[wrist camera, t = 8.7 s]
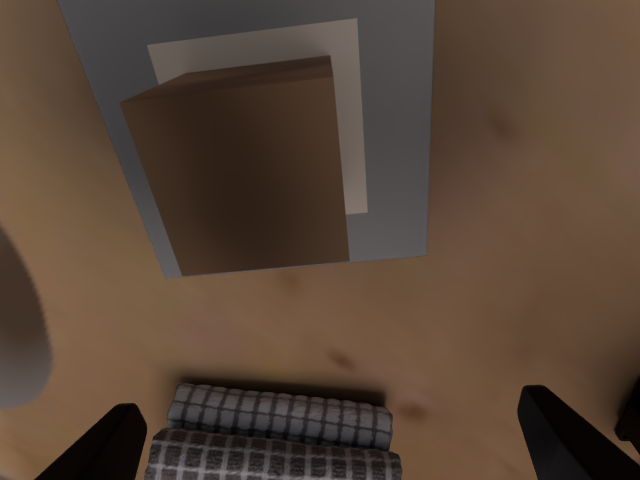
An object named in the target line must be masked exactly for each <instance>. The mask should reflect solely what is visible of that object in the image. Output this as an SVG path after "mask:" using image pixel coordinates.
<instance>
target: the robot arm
mask: <svg viewBox="0 0 640 480" xmlns="http://www.w3.org/2000/svg"><path fill="white" fill-rule="evenodd" d="M517 413H518V419H519V422H520V425H521V428H522V431H523V435H524V438H525V441H526V444H527V447H528V450H529V453H530V456H531V459H532V463H533V466H534V469H535V472H536V475H537V478H538V480H640V465H639V464H638V463H636V462H635V461H634V460H633V459H632V458H630V457H629V456H628V455H627V454H626V453H624V452H623V451H622V450H621V449H620V448H618V447H617V446H616V445H615V444H614V443H612V442H611V441H610V440H609V439H608V438H606V437H605V436H604V435H603V434H602V433H601V432H599V431H598V430H597V429H596V428H595V427H593V426H592V425H591V424H590V423H589V422H587V421H586V420H585V419H584V418H583V417H581V416H580V415H579V414H578V413H577V412H575V411H574V410H573V409H572V408H571V407H569V406H568V405H567V404H566V403H565V402H564V401H562V400H561V399H560V398H559V397H558V396H556V395H555V394H554V393H553V392H552V391H550V390H549V389H548V388H547V387H545V386H543V385H526V386H524V387H523V388H522V391H521V396H520V400H519V404H518V409H517ZM146 434H147V425H146V422H145V420H144V418H143V416H142V414H141V412H140V410H139V408H138V406H137V405H136V404H134V403H122V404H118V405H116V406H114V407H113V408H112V409H111V410H110V411H109V412H108V413H107V414H106V415H104V416H103V417H102V418H101V419H100V420H99V421H98V422H97V423H96V424H95V425H93V426H92V427H91V428H90V429H89V430H88V431H87V432H86V433H85V434H84V435H82V436H81V437H80V438H79V439H78V440H77V441H76V442H75V443H74V444H73V445H72V446H70V447H69V448H68V449H67V450H66V451H65V452H64V453H63V454H62V455H61V456H59V457H58V458H57V459H56V460H55V461H54V462H53V463H52V464H51V465H50V466H49V467H47V468H46V469H45V470H44V471H43V472H42V473H41V474H40V475H39V476H38V477H36V478H35V479H34V480H135V477H136V473H137V469H138V466H139V462H140V458H141V454H142V450H143V446H144V442H145V438H146ZM615 434H616V435H617V437H618V438H619V440H621V441H630V442H631V443H632V444H633V446H634V447H635V449H636V450H637V452H638V453H639V454H640V380H639V381H638V384H637V386H636V388H635V390H634V392H633V395H632V397H631V399H630V401H629V403H628V406H627V408H626V410H625V412H624V414H623V417H622V419H621V421H620V423H619V425H618V428H617V430H616V432H615Z"/></svg>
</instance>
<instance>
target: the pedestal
mask: <svg viewBox="0 0 640 480" xmlns="http://www.w3.org/2000/svg"><path fill="white" fill-rule="evenodd" d="M57 2H58V5H59V7H60V10H61V12H62V15H63V18H64V20H65V23H66V25H67V28H68V30H69V33H70V36H71V38H72V41H73V43H74V46H75V48H76V51H77V54H78V56H79V59H80V61H81V64H82V66H83V69H84V72H85V74H86V77H87V79H88V82H89V84H90V87H91V90H92V92H93V95H94V97H95V100H96V102H97V105H98V108H99V110H100V113H101V115H102V118H103V120H104V123H105V126H106V128H107V131H108V133H109V136H110V138H111V141H112V144H113V146H114V149H115V151H116V154H117V156H118V159H119V162H120V164H121V167H122V169H123V172H124V174H125V177H126V180H127V182H128V185H129V187H130V190H131V192H132V195H133V198H134V200H135V203H136V205H137V208H138V210H139V213H140V216H141V218H142V221H143V223H144V226H145V228H146V231H147V234H148V236H149V239H150V241H151V244H152V246H153V249H154V252H155V254H156V257H157V259H158V262H159V264H160V267H161V270H162V272H163V275H164V277H165V279H167V278H179V277H190V276H182V274H181V272H180V269H179V266H178V263H177V260H176V258H175V255H174V252H173V249H172V247H171V244H170V241H169V238H168V236H167V233H166V230H165V227H164V224H163V222H162V219H161V216H160V213H159V211H158V208H157V205H156V202H155V200H154V197H153V194H152V191H151V189H150V186H149V183H148V180H147V177H146V175H145V172H144V169H143V166H142V164H141V161H140V158H139V155H138V153H137V150H136V147H135V144H134V142H133V139H132V136H131V133H130V130H129V128H128V125H127V122H126V119H125V117H124V114H123V111H122V108H121V106H120V102H122V101H124V100H126V99H129V98H131V97H133V96H135V95H138V94H140V93H142V92H144V91H147V90H149V89H151V88H153V87H156V86H158V85H160V84H162V83H164V82H167V81H169V80H171V79H173V78H176V77H178V76H180V75H182V74H185V73H190V72H199V71H207V70H215V69H223V68H231V67H239V66H247V65H255V64H263V63H271V62H279V61H287V60H295V59H303V58H311V57H319V56H328V55H330V57H331V64H332V70H333V77H334V88H335V99H336V110H337V122H338V133H339V144H340V155H341V167H342V178H343V189H344V200H345V212H346V223H347V234H348V245H349V257H350V261H349V262H361V261H372V260H384V259H395V258H406V257H418V256H426V255H427V225H428V196H429V166H430V136H431V106H432V77H433V47H434V17H435V0H57ZM349 262H338V263H349ZM338 263H327V264H338ZM327 264H315V265H327ZM315 265H304V266H315ZM304 266H293V267H304ZM293 267H282V268H293ZM271 269H281V268H271ZM260 270H270V269H260ZM248 271H258V270H248ZM237 272H247V271H237ZM226 273H236V272H226ZM215 274H224V273H215ZM204 275H213V274H204ZM192 276H202V275H192Z"/></svg>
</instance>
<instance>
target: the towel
mask: <svg viewBox="0 0 640 480" xmlns="http://www.w3.org/2000/svg"><path fill="white" fill-rule="evenodd" d="M167 421H168V428H165V429H162V430H160V431H159V432H158V433H157V434H156V435H155V436H153V440H152V446H151V449H150V454H149V461H148V463H149V465H148V467H147V469H146V470H145V477H144V480H401V476H402V468H401V464H400V463H401V460H400V457H399V455H398V454H396V453H393V452H390V451H389V448H390V442H391V438H392V433H393V431H392V421H393V416H392V414H391V413H390V412H389V410H388V409H387V408H386V407H378V406H372V405H370V404H367V403H356V402H352V401H348V400H343V401H339V400H337V399H333V398H330V399H324V398H321V397H307V396H303V395H297V396H293V395H289V394H285V393H280V394H276V393H273V392H258V391H245V390H240V389H227V388H224V387H213V386H211V385H193V384H188V383H181V384H179V385H178V386H177V387H176V394H175V398H174V400H173V402H172V404H171V406H170V408H169V410H168V412H167Z"/></svg>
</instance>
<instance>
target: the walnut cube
mask: <svg viewBox="0 0 640 480" xmlns="http://www.w3.org/2000/svg"><path fill="white" fill-rule="evenodd" d="M120 106H121V108H122V111H123V114H124V117H125V119H126V122H127V125H128V128H129V130H130V133H131V136H132V139H133V142H134V144H135V147H136V150H137V153H138V155H139V158H140V161H141V164H142V166H143V169H144V172H145V175H146V177H147V180H148V183H149V186H150V189H151V191H152V194H153V197H154V200H155V202H156V205H157V208H158V211H159V213H160V216H161V219H162V222H163V224H164V227H165V230H166V233H167V236H168V238H169V241H170V244H171V247H172V249H173V252H174V255H175V258H176V260H177V263H178V266H179V269H180V272H181V274H182V276H192V275H204V274H215V273H226V272H237V271H248V270H260V269H271V268H282V267H293V266H304V265H315V264H327V263H338V262H349V261H350V257H349V245H348V234H347V223H346V212H345V200H344V189H343V178H342V167H341V155H340V144H339V133H338V122H337V110H336V99H335V88H334V77H333V70H332V64H331V57H330V55H328V56H319V57H311V58H303V59H295V60H287V61H279V62H271V63H263V64H255V65H247V66H239V67H231V68H223V69H215V70H207V71H199V72H190V73H185V74H182V75H180V76H178V77H176V78H173V79H171V80H169V81H167V82H164V83H162V84H160V85H158V86H156V87H153V88H151V89H149V90H147V91H144V92H142V93H140V94H138V95H135V96H133V97H131V98H129V99H126V100H124V101H122V102H120Z"/></svg>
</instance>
